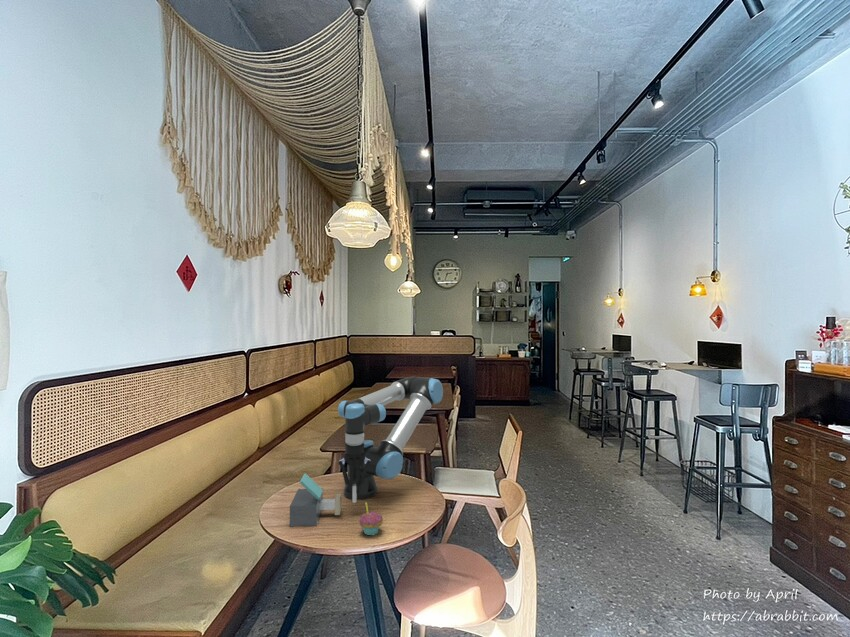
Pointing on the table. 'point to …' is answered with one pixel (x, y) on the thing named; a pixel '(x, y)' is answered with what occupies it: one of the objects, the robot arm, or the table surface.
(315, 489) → the teal rectangular plate
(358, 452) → the robot arm
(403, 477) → the table surface
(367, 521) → the cupcake
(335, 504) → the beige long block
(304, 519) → the grey block
